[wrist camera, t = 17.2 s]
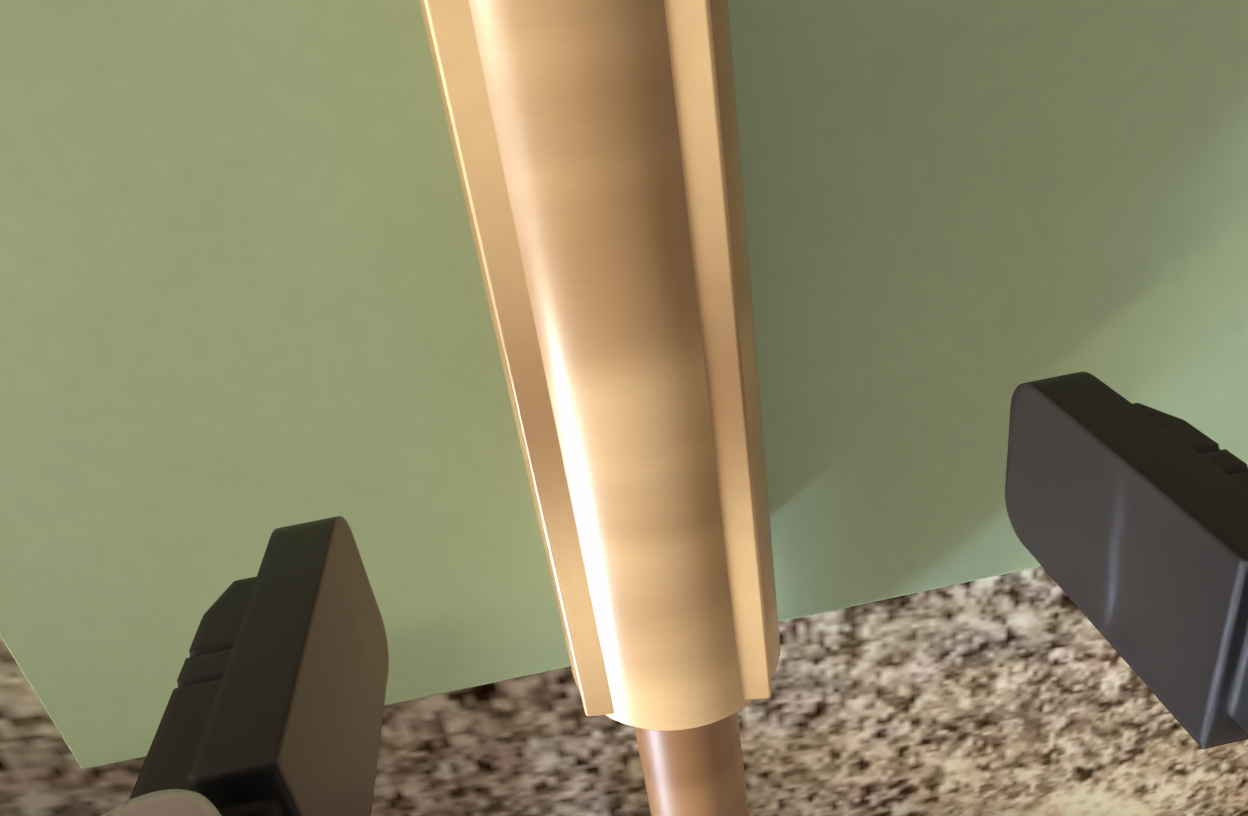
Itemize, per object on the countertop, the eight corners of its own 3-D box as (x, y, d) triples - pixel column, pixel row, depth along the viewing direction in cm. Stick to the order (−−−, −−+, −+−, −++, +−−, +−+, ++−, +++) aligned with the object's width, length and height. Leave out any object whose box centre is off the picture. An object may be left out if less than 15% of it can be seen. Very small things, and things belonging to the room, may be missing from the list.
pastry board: (1390, -457, 16) (1456, -486, 15) (1207, 500, 25) (1239, 525, 24) (-442, -190, 14) (-516, -200, 13) (99, 734, 23) (81, 771, 22)
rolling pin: (296, -711, 12) (134, -1021, 8) (645, -784, 12) (659, -1146, 8) (612, 761, 25) (611, 924, 21) (779, 744, 25) (810, 906, 21)
